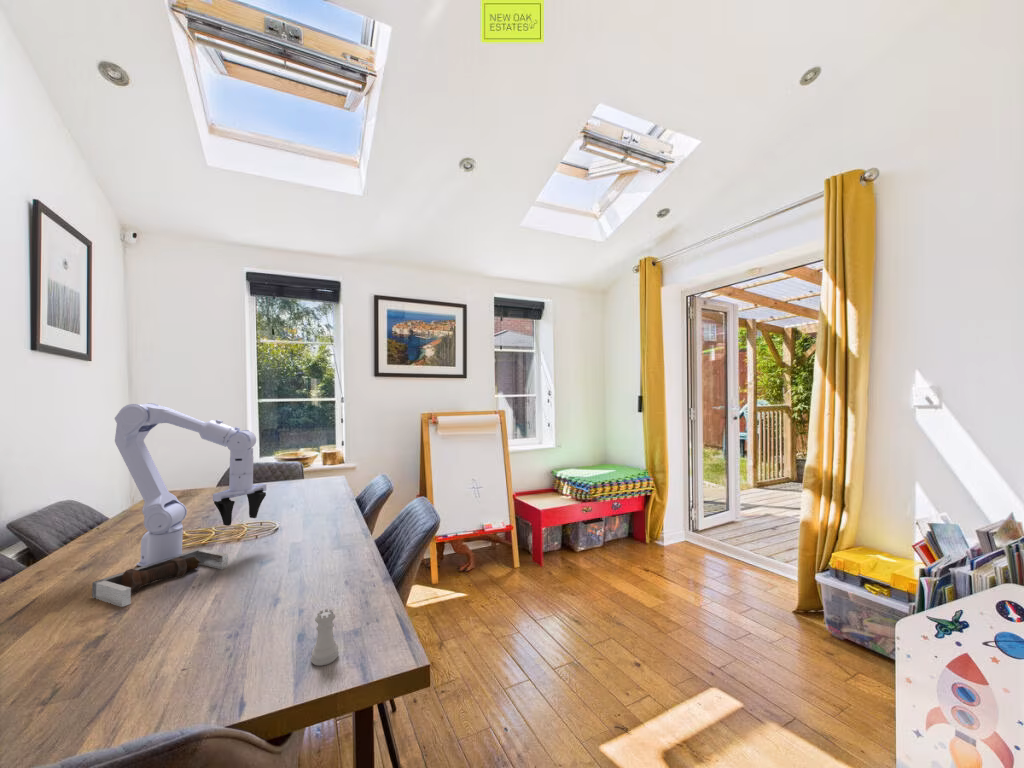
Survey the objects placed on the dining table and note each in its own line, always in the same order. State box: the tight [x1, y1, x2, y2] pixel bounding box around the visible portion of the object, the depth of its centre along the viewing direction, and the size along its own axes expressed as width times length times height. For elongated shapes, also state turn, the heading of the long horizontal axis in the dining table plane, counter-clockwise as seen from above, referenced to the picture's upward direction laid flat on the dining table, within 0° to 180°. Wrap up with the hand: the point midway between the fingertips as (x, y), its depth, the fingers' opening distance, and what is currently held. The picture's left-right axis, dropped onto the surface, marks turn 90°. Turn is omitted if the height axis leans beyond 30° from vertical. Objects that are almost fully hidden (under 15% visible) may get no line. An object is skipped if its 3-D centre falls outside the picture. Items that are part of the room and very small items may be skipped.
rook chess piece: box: [310, 608, 339, 667], centre depth 74 cm, size 4×4×8 cm
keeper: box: [91, 548, 229, 608], centre depth 104 cm, size 12×23×4 cm, turn 158°
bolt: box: [121, 557, 200, 595], centre depth 105 cm, size 6×5×15 cm
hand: (240, 521), depth 121 cm, fingers open, 7 cm apart
